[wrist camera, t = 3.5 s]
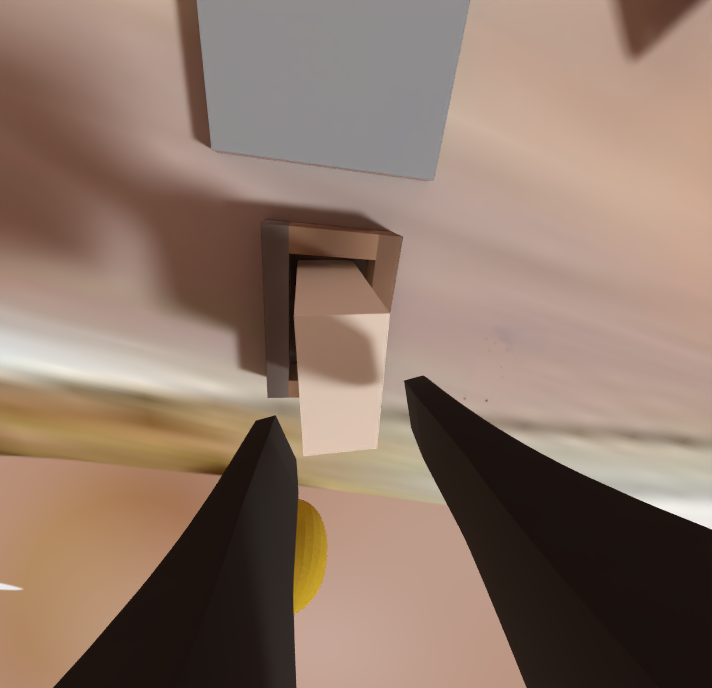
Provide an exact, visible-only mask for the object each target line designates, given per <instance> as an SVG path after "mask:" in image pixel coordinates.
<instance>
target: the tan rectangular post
mask: <svg viewBox="0 0 712 688" xmlns="http://www.w3.org/2000/svg"><path fill="white" fill-rule="evenodd" d="M389 318H390V313H389V311H388V310H387V309H386V307H385V306H384V304H383V303H382V301H381V300H380V299H379V297H378V296H377V294H376V293H375V292H374V290H373V289H372V287H371V286H370V285H369V283H368V282H367V280H366V279H365V277H364V276H363V275H362V273H361V272H360V270H359V269H358V268H357V266H356V265H355V263H354V262H353V261H352V260H298V264H297V278H296V293H295V307H294V325H295V339H296V354H297V368H298V383H299V397H300V411H301V426H302V440H303V455H304V456H309V455H319V454H328V453H338V452H348V451H357V450H367V449H377V443H378V433H379V422H380V412H381V401H382V391H383V381H384V370H385V360H386V349H387V339H388V329H389Z"/></svg>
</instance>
